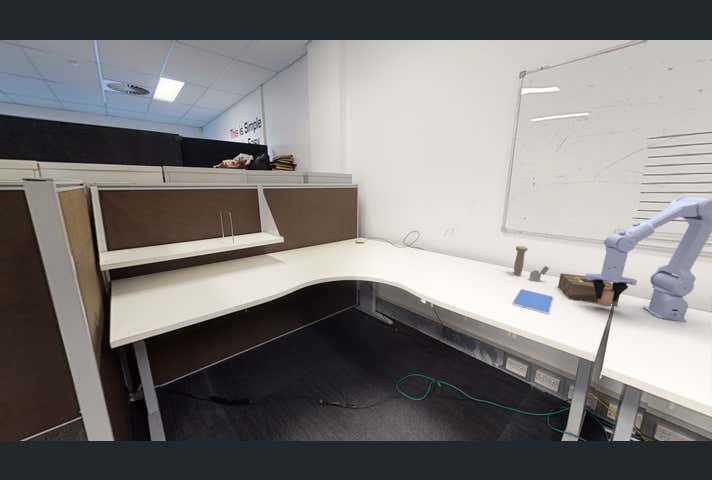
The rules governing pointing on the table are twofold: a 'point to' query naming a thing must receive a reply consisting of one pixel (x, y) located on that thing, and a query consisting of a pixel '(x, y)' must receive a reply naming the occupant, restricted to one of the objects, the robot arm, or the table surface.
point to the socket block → (580, 288)
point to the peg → (606, 297)
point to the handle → (519, 259)
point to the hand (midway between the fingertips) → (605, 299)
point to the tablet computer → (533, 301)
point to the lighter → (538, 274)
